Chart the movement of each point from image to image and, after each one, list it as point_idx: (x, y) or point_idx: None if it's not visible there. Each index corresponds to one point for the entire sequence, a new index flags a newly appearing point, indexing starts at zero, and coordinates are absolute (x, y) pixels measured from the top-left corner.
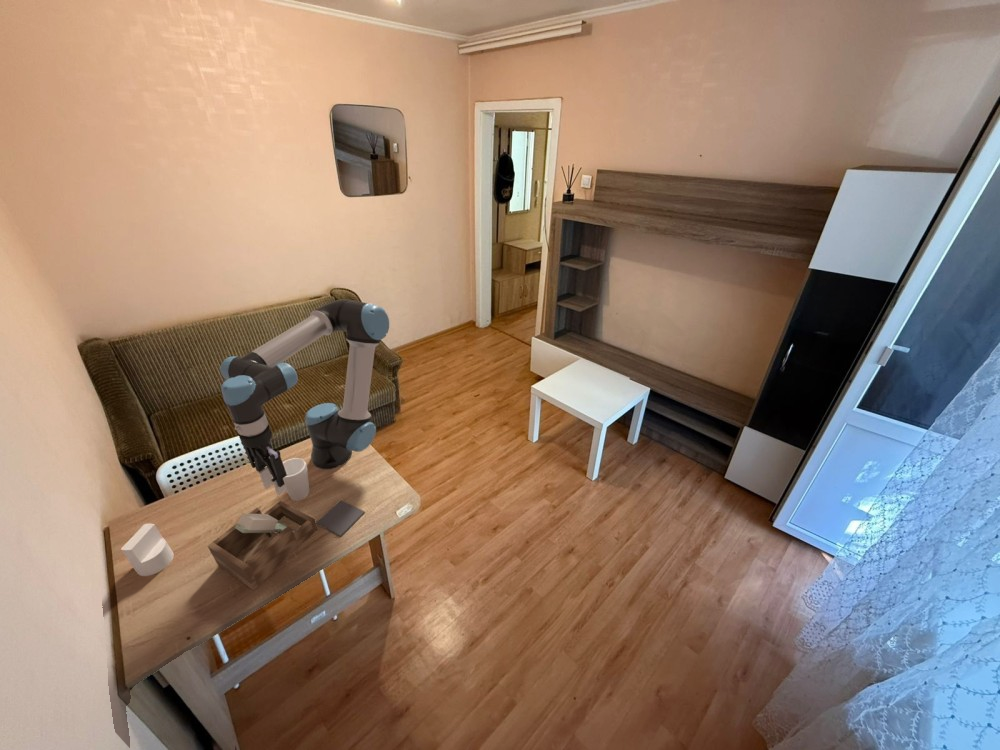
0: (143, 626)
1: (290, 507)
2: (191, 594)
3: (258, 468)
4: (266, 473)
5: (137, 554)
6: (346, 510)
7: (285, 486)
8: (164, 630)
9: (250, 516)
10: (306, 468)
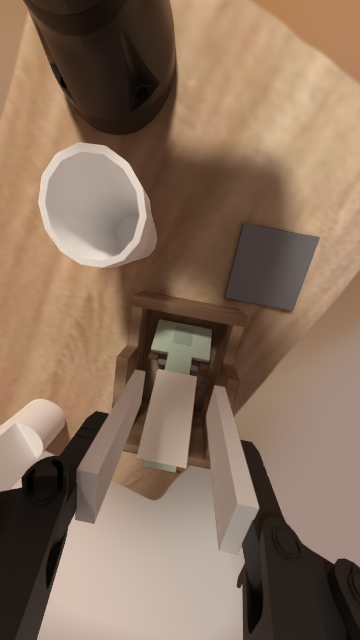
0: (119, 471)
1: (170, 305)
2: None
3: (49, 593)
4: (112, 458)
5: (20, 473)
6: (274, 248)
7: (228, 403)
8: (144, 470)
9: (161, 451)
10: (141, 185)
